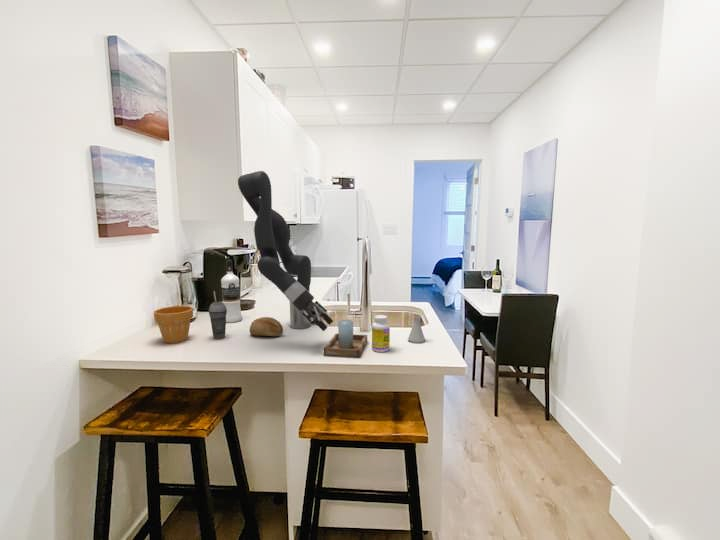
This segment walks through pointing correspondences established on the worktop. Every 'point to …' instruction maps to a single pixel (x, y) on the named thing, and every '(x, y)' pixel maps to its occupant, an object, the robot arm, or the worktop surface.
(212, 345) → the worktop surface
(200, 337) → the worktop surface
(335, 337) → the tray
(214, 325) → the beverage cup
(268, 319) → the bread roll
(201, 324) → the worktop surface
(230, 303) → the vodka
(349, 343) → the blue rounded capsule
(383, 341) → the supplement bottle
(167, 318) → the flower pot
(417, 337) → the flask
